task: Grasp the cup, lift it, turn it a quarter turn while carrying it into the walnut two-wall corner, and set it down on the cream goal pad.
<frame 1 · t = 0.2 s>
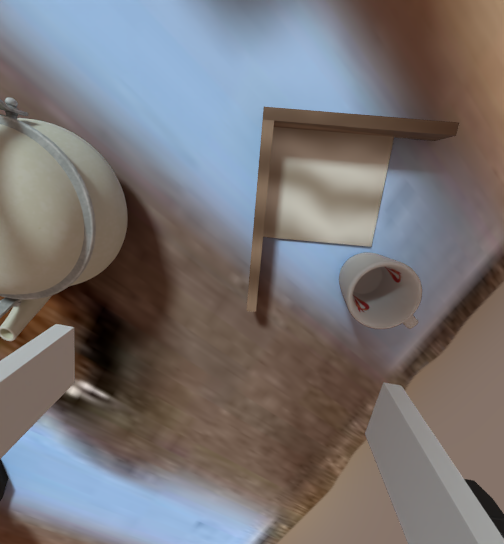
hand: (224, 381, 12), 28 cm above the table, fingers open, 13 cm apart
wooden corner frame: (333, 225, 37), on the table
cup: (368, 280, 40), on the table
kettle: (75, 217, 39), on the table
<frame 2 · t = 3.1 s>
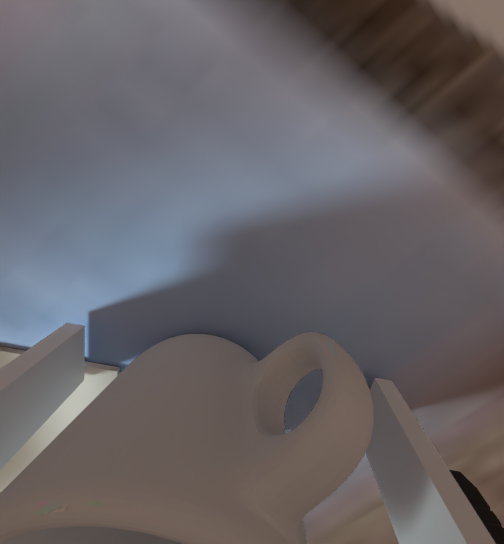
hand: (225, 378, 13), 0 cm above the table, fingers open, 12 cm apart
wooden corner frame: (73, 446, 15), on the table
cup: (227, 367, 13), on the table
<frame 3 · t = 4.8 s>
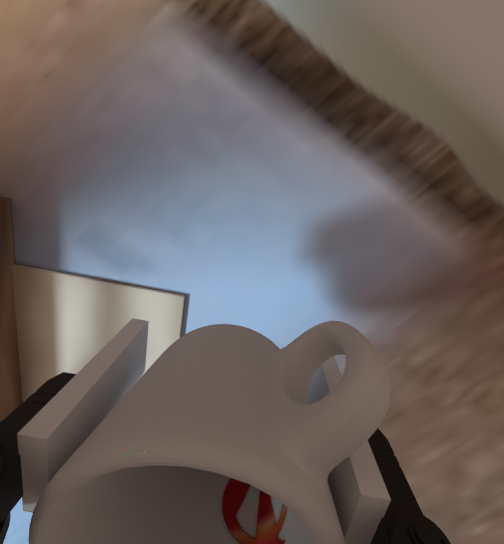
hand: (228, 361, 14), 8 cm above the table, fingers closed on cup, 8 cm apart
wooden corner frame: (151, 350, 23), on the table
cup: (250, 356, 15), point 7 cm above the table, touching gripper
when the fingers open (1 cm above the table, at t = 9.3 s): cup stays where it is, resting on wooden corner frame.
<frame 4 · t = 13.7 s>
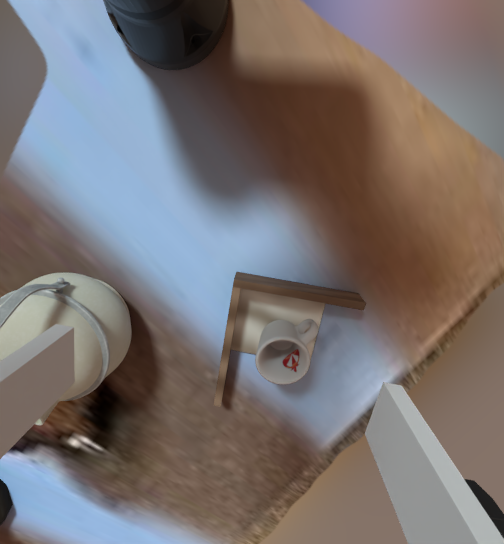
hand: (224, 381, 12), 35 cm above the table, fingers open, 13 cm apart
wooden corner frame: (282, 346, 51), on the table
cup: (286, 329, 50), resting on wooden corner frame
kettle: (90, 322, 52), on the table
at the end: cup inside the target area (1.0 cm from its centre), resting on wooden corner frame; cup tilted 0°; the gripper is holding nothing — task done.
